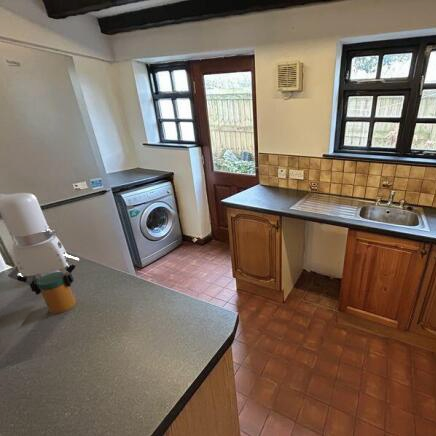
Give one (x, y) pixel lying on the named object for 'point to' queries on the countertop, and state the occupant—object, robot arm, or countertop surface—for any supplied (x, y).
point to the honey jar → (58, 298)
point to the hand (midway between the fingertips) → (55, 287)
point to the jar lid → (50, 281)
